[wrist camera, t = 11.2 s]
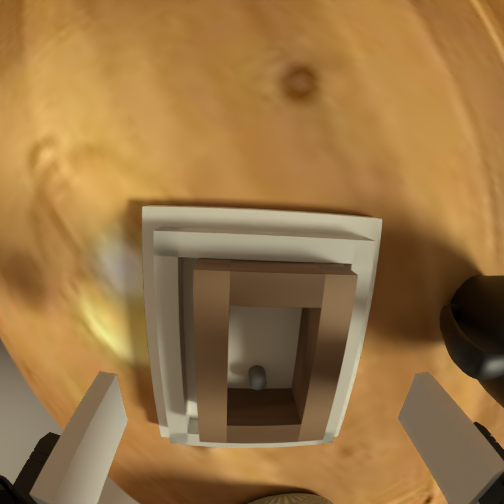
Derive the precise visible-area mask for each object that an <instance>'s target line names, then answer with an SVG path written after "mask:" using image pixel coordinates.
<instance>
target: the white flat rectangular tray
mask: <svg viewBox="0 0 504 504" xmlns="http://www.w3.org/2000/svg"><path fill="white" fill-rule="evenodd" d="M382 220H383V219H380V218H376V217H369V216H358V215H346V214H333V213H320V212H306V211H291V210H274V209H256V208H234V207H209V206H173V205H146V206H142V263H143V288H144V305H145V319H146V331H147V342H148V351H149V360H150V369H151V377H152V384H153V391H154V398H155V405H156V411H157V417H158V422H159V428H160V433H161V437H169V438H170V442H171V443H173V444H183V445H195V446H209V447H236V448H262V447H288V446H303V445H314V444H324V443H332V442H333V439H334V437H338V434H339V431H340V428H341V425H342V422H343V418H344V415H345V412H346V408H347V405H348V402H349V398H350V394H351V391H352V387H353V383H354V380H355V376H356V372H357V368H358V364H359V359H360V355H361V351H362V346H363V342H364V337H365V332H366V328H367V323H368V317H369V312H370V307H371V301H372V295H373V289H374V283H375V277H376V270H377V263H378V255H379V247H380V239H381V230H382ZM199 258H215V259H239V260H264V261H291V262H318V263H342V264H343V265H345V266H346V267H348V268H349V269H350V270H352V271H353V272H354V273H356V274H357V275H358V278H357V285H356V292H355V299H354V305H353V311H352V317H351V322H350V328H349V333H348V338H347V344H346V349H345V353H344V358H343V363H342V367H341V372H340V376H339V381H338V385H337V389H336V393H335V397H334V401H333V405H332V409H331V413H330V416H329V420H328V424H327V427H326V431H325V434H324V438H323V440H314V441H303V442H287V443H256V444H242V443H211V442H200V440H199V427H198V413H197V396H196V376H195V350H194V303H193V270H194V268H195V266H196V264H197V262H198V260H199ZM301 312H302V307H249V306H229V339H228V386H227V388H249V389H254V390H261V389H272V388H291V387H292V381H293V374H294V367H295V360H296V352H297V345H298V337H299V329H300V321H301Z"/></svg>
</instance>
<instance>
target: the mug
mask: <svg viewBox="0 0 504 504" xmlns="http://www.w3.org/2000/svg"><path fill="white" fill-rule="evenodd" d="M440 328H441V332H442V336H443V339H444V342H445V345H446V348H447V351H448V353H449V355H450V357H451V359H452V360H453V361H454V363H455V364H456V365H457V366H458V367H459V368H460V369H461V370H462V371H463V372H464V373H466V374H467V375H468V376H470V377H472V378H475V379H477V380H478V381H479V383H480V384H481V385H482V386H483V388H484V389H485V390H486V391H487V392H488V393H489V394H490V395H491V396H492V397H493V398H494V399H495V400H496V401H497V402H498V403H499V404H500V405H501V406H502V407H503V408H504V276H482V275H477V276H474V277H471V278H470V279H468V280H467V281H466V282H464V283H463V284H462V285H461V287H460V288H459V289H458V290H457V292H456V294H455V295H454V297H453V299H452V301H451V304H447V305H446V306H444V307H443V309H442V311H441V314H440Z"/></svg>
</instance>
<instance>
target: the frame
mask: <svg viewBox="0 0 504 504" xmlns="http://www.w3.org/2000/svg"><path fill="white" fill-rule="evenodd" d="M357 278H358V275H357V274H356V273H354V272H353V271H352V270H350V269H349V268H348V267H346V266H345V265H343V264H342V263H318V262H291V261H264V260H239V259H215V258H199V260H198V262H197V264H196V266H195V268H194V270H193V303H194V350H195V376H196V396H197V413H198V427H199V440H200V442H211V443H242V444H256V443H287V442H303V441H314V440H323V438H324V434H325V431H326V427H327V424H328V420H329V416H330V413H331V409H332V405H333V401H334V397H335V393H336V389H337V385H338V381H339V376H340V372H341V367H342V363H343V358H344V353H345V349H346V344H347V338H348V333H349V328H350V322H351V317H352V311H353V305H354V299H355V292H356V285H357ZM229 306H249V307H302V312H301V321H300V329H299V337H298V345H297V352H296V360H295V367H294V374H293V381H292V387H291V388H272V389H261V390H254V389H249V388H227V386H228V339H229Z"/></svg>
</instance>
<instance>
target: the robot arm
mask: <svg viewBox="0 0 504 504" xmlns="http://www.w3.org/2000/svg"><path fill="white" fill-rule="evenodd" d="M398 419H399V420H400V422H401V424H402V425H403V427H404V428H405V430H406V432H407V433H408V435H409V437H410V438H411V440H412V442H413V443H414V445H415V447H416V448H417V450H418V452H419V453H420V455H421V457H422V458H423V460H424V462H425V463H426V465H427V467H428V469H429V470H430V472H431V474H432V475H433V477H434V479H435V481H436V482H437V484H438V486H439V487H440V489H441V491H442V493H443V494H444V496H445V498H446V500H447V502H448V503H449V504H475V503H476V502H477V501H479V503H480V504H504V449H503V448H502V447H501V446H500V445H499V443H498V442H496V440H495V438H494V437H493V436H491V434H490V433H489V431H488V430H487V429H486V428H485V427H484V426H482V425H481V424H479V423H477V422H474V423H473V422H472V421H471V420H470V419H469V418H468V416H467V415H466V414H465V413H464V412H463V411H462V409H461V408H460V407H459V406H458V405H457V404H456V402H455V401H454V400H453V399H452V398H451V397H450V395H449V394H448V393H447V392H446V391H445V390H444V389H443V387H442V386H441V385H440V384H439V383H438V382H437V381H436V379H435V378H434V377H433V376H432V375H431V374H430V373H429V372H424V373H418V374H415V377H414V380H413V382H412V385H411V388H410V390H409V393H408V395H407V398H406V400H405V403H404V405H403V407H402V410H401V412H400V414H399V417H398ZM127 421H128V420H127V417H126V413H125V409H124V405H123V401H122V396H121V392H120V388H119V383H118V379H117V374H113V373H107V372H101V371H100V372H99V374H98V375H97V377H96V378H95V380H94V381H93V383H92V385H91V386H90V388H89V389H88V391H87V393H86V394H85V396H84V398H83V399H82V401H81V402H80V404H79V406H78V407H77V409H76V411H75V412H74V414H73V416H72V417H71V419H70V421H69V423H68V424H67V426H66V428H65V429H64V431H63V433H62V435H61V436H60V435H57V434H54V433H51V432H49V433H48V434H47V435H45V436H44V437H43V438H41V439H40V440H39V442H38V444H37V445H36V447H35V448H34V451H33V452H32V453H31V455H30V458H29V459H28V460H27V462H26V464H25V465H24V467H23V469H22V471H21V472H20V474H19V475H18V478H17V479H16V481H15V483H14V484H13V485H12V484H11V483H10V482H9V480H7V479H6V478H5V477H3V476H1V475H0V504H97V503H98V500H99V497H100V494H101V491H102V488H103V485H104V482H105V479H106V477H107V474H108V472H109V469H110V466H111V463H112V461H113V458H114V455H115V453H116V450H117V447H118V445H119V442H120V439H121V437H122V434H123V432H124V429H125V427H126V424H127Z"/></svg>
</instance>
